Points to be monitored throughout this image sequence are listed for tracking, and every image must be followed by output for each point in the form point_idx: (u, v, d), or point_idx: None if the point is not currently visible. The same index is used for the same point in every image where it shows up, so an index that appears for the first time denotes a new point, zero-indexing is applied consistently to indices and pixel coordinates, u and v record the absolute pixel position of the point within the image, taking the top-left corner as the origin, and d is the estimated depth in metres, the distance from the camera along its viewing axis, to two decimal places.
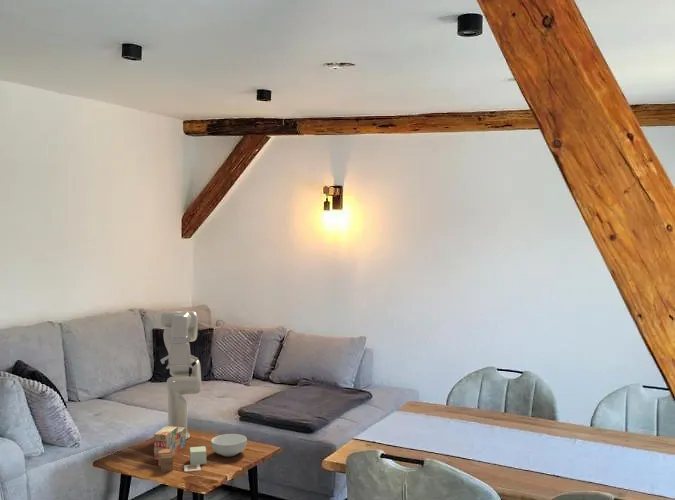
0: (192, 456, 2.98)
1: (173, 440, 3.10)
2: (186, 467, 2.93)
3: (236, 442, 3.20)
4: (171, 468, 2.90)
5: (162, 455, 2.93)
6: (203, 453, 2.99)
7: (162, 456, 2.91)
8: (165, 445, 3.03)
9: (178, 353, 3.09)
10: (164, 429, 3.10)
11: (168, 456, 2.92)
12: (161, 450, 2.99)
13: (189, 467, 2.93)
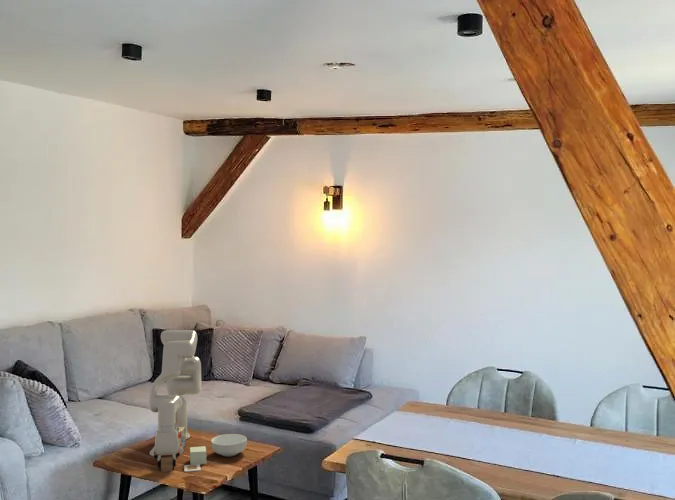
0: (192, 456, 2.98)
1: None
2: (186, 467, 2.93)
3: (236, 442, 3.20)
4: (171, 468, 2.90)
5: (162, 455, 2.93)
6: (203, 453, 2.99)
7: (162, 456, 2.91)
8: None
9: (166, 442, 2.89)
10: None
11: (168, 456, 2.91)
12: None
13: (189, 467, 2.93)
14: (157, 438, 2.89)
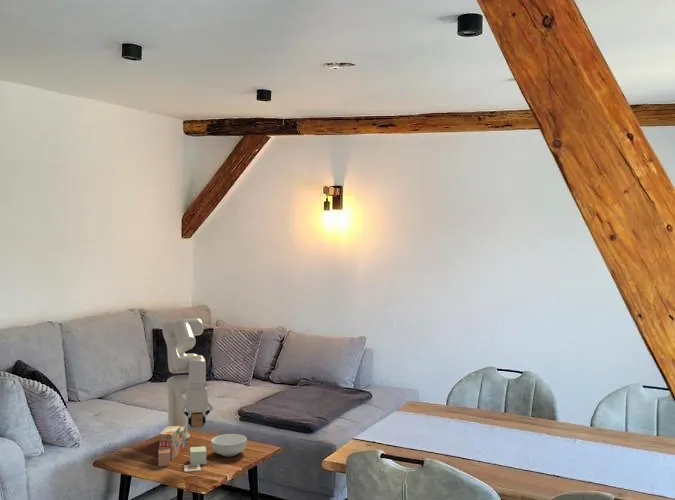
0: (192, 456, 2.98)
1: (177, 439, 3.11)
2: (186, 467, 2.93)
3: (236, 442, 3.20)
4: (201, 425, 2.99)
5: (192, 412, 3.02)
6: (203, 453, 2.99)
7: (192, 413, 3.00)
8: (171, 444, 3.04)
9: (196, 399, 2.98)
10: (167, 429, 3.11)
11: (198, 413, 3.00)
12: (161, 450, 2.99)
13: (189, 467, 2.93)
14: (188, 395, 2.98)
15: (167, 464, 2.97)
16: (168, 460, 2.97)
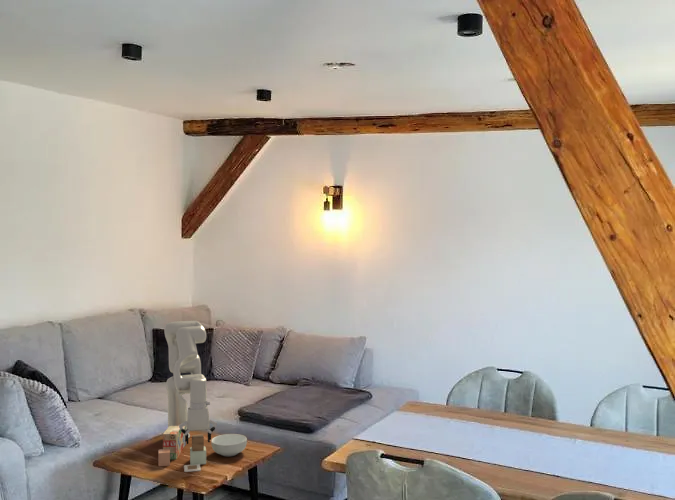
0: (192, 456, 2.98)
1: (179, 439, 3.12)
2: (186, 467, 2.93)
3: (236, 442, 3.20)
4: (202, 448, 3.00)
5: (193, 435, 3.02)
6: (203, 453, 2.99)
7: (193, 436, 3.01)
8: (175, 444, 3.05)
9: (197, 418, 2.99)
10: (170, 429, 3.11)
11: (199, 436, 3.01)
12: (161, 450, 2.99)
13: (189, 467, 2.93)
14: (189, 415, 2.98)
15: (167, 464, 2.97)
16: (168, 460, 2.97)
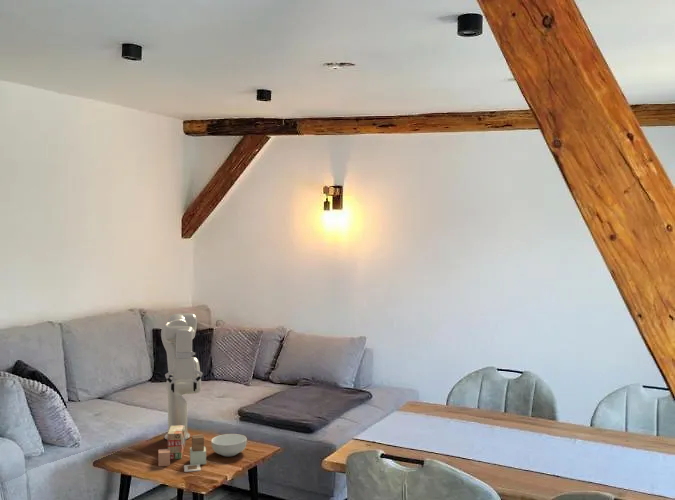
0: (192, 456, 2.98)
1: (182, 438, 3.13)
2: (186, 467, 2.93)
3: (236, 442, 3.20)
4: (202, 448, 3.00)
5: (193, 435, 3.02)
6: (203, 453, 2.99)
7: (193, 436, 3.01)
8: (180, 443, 3.06)
9: (183, 368, 3.07)
10: (173, 428, 3.12)
11: (199, 436, 3.01)
12: (161, 450, 2.99)
13: (189, 467, 2.93)
14: (175, 364, 3.06)
15: (167, 464, 2.97)
16: (168, 460, 2.97)
